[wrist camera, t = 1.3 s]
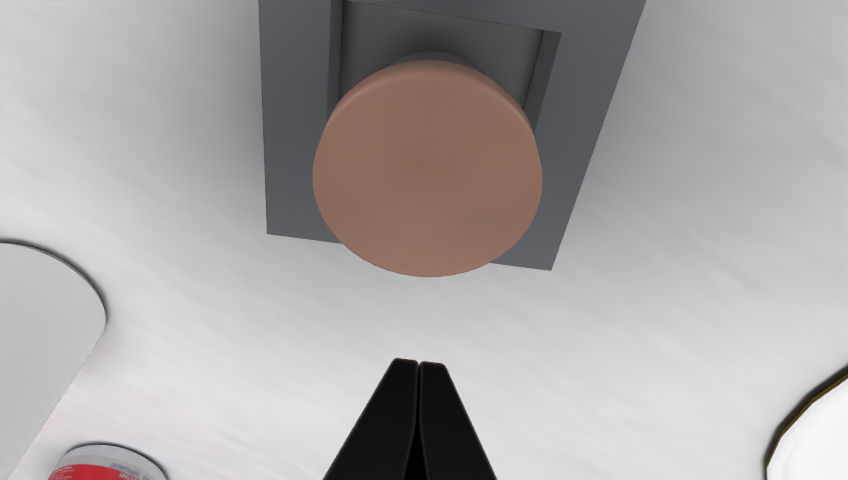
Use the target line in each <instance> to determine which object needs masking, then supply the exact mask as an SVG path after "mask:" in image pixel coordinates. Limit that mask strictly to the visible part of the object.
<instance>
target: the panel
mask: <svg viewBox="0 0 848 480" xmlns="http://www.w3.org/2000/svg"><path fill="white" fill-rule="evenodd" d="M348 1H355V2H362V3H368V4H375V5H381V6H388V7H395V8H401V9H408V10H415V11H421V12H428V13H434V14H441V15H448V16H454V17H461V18H467V19H474V20H481V21H487V22H494V23H500V24H507V25H514V26H520V27H527V28H534V29H540V30H544V32H543V36H542V40H541V44H540V48H539V52H538V56H537V60H536V63H535V67H534V71H533V75H532V79H531V83H530V87H529V91H528V95H527V98H526V102H525V106H524V110H523V111H524V113H525V115H526V116H527V118H528V120H529V123H530V125H531V128H532V130H533V134H534V138H535V142H536V146H537V150H538V154H539V158H540V162H541V166H542V178H543V182H542V194H541V198H540V203H539V206H538V209H537V211H536V214H535V217H534V219H533V220H532V222H531V224H530V226H529V227H528V229H527V230H526V232H525V233H524V234H523V235H522V237H521V238H520V239H519V240H518V241H517V242H516V243H515V244H514V245H513V246H512V247H511V248H510V249H509V250H507V251H506V252H505V253H504V254H502V255H501V256H500V257H498V258H496V259H495V260H493V261H491V262H490V263H495V264H503V265H511V266H519V267H526V268H534V269H542V270H549V271H551V269H552V267H553V264H554V261H555V258H556V255H557V252H558V249H559V247H560V244H561V241H562V238H563V235H564V232H565V230H566V227H567V224H568V221H569V218H570V215H571V212H572V210H573V207H574V204H575V201H576V198H577V195H578V193H579V190H580V187H581V184H582V181H583V178H584V176H585V173H586V170H587V167H588V164H589V161H590V158H591V156H592V153H593V150H594V147H595V144H596V141H597V139H598V136H599V133H600V130H601V127H602V124H603V121H604V119H605V116H606V113H607V110H608V107H609V104H610V102H611V99H612V96H613V93H614V90H615V87H616V84H617V82H618V79H619V76H620V73H621V70H622V67H623V65H624V62H625V59H626V56H627V53H628V50H629V48H630V45H631V42H632V39H633V36H634V33H635V30H636V28H637V25H638V22H639V19H640V16H641V13H642V11H643V8H644V5H645V2H646V0H348ZM342 15H343V0H259V26H260V53H261V81H262V108H263V136H264V163H265V191H266V218H267V234H272V235H280V236H287V237H295V238H303V239H310V240H318V241H326V242H334V243H341V244H343V243H342V242H341V241H340V240H339V239H338V238H337V237H336V236H335V235H334V234H333V232H332V231H331V230H330V228H329V227H328V225H327V224H326V222H325V220H324V219H323V217H322V215H321V213H320V211H319V208H318V205H317V202H316V199H315V194H314V190H313V177H312V173H313V163H314V158H315V154H316V151H317V147H318V145H319V142H320V140H321V137H322V135H323V132H324V129H325V127H326V124H327V122H328V120H329V118H330V115H331V113H332V112H333V110H334V108H335V107H336V105H337V104H338V98H339V77H340V56H341V36H342Z"/></svg>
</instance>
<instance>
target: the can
mask: <svg viewBox="0 0 848 480" xmlns="http://www.w3.org/2000/svg"><path fill="white" fill-rule="evenodd" d="M105 325H106V315H105V310H104V307H103V304H102V301H101V298H100V296H99V294H98V292H97V291H96V289H95V288H94V286H93V285H92V284H91V282H90V281H89V280H88V279H87V278H86V277H85V276H84V275H83V274H82V273H81V272H79V271H78V270H77V269H76V268H74V267H73V266H72V265H70V264H69V263H67V262H66V261H64V260H62V259H60V258H59V257H57V256H55V255H53V254H51V253H48V252H46V251H43V250H40V249H38V248H34V247H31V246H27V245H22V244H15V243H0V480H8V478H9V477H10V475H11V474H12V472H13V471H14V469H15V468H16V466H17V465H18V463H19V462H20V460H21V458H22V457H23V455H24V454H25V452H26V451H27V449H28V448H29V446H30V445H31V443H32V442H33V440H34V439H35V437H36V436H37V434H38V433H39V431H40V430H41V428H42V427H43V425H44V424H45V422H46V420H47V419H48V417H49V416H50V414H51V413H52V411H53V410H54V408H55V407H56V405H57V404H58V402H59V401H60V399H61V398H62V396H63V395H64V393H65V392H66V390H67V388H68V387H69V385H70V384H71V382H72V381H73V379H74V378H75V376H76V375H77V373H78V372H79V370H80V369H81V367H82V365H83V364H84V362H85V361H86V359H87V358H88V356H89V355H90V353H91V352H92V350H93V348H94V347H95V345H96V344H97V342H98V340H99V339H100V337H101V335H102V333H103V331H104V329H105Z"/></svg>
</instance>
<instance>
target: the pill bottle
mask: <svg viewBox="0 0 848 480" xmlns="http://www.w3.org/2000/svg"><path fill="white" fill-rule="evenodd" d="M48 480H166V478H165V476H164V474H163V473H162V472H161V470H160V469H159V468H158V467H157V466H156V465H155V464H153V463H152V462H151V461H149V460H148V459H146V458H144V457H143V456H141V455H139V454H137V453H135V452H132V451H130V450H127V449H124V448H120V447H116V446H109V445H89V446H83V447H79V448H76V449H74V450H72V451H70V452H68V453H67V454H66V455H64V456H63V457H62V459H61V460H60V461H59V463H58V464H57V466H56V467H55V469H54V471H53V472H52V474H51V476H50V477H49V478H48Z"/></svg>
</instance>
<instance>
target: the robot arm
mask: <svg viewBox="0 0 848 480" xmlns="http://www.w3.org/2000/svg"><path fill="white" fill-rule="evenodd" d="M323 480H497V478H496V476H495V473H494V471H493V469H492V467H491V465H490V462H489V460H488V458H487V456H486V454H485V451H484V449H483V447H482V445H481V443H480V440H479V438H478V436H477V434H476V432H475V429H474V427H473V425H472V423H471V421H470V418H469V416H468V414H467V412H466V410H465V407H464V405H463V403H462V401H461V399H460V396H459V394H458V392H457V390H456V388H455V385H454V383H453V381H452V379H451V377H450V374H449V372H448V370H447V368H446V367H445V365H443V364H441V363H434V362H426V361H423V362H421V363H420V364H418V362H417V361H415V360H409V359H401V358H396V359H394V360H393V361H392V362H391V364H390V366H389V367H388V369H387V371H386V372H385V374H384V376H383V378H382V379H381V381H380V383H379V384H378V386H377V388H376V389H375V391H374V393H373V395H372V396H371V398H370V400H369V401H368V403H367V405H366V407H365V408H364V410H363V412H362V413H361V415H360V417H359V418H358V420H357V422H356V424H355V425H354V427H353V429H352V430H351V432H350V434H349V435H348V437H347V439H346V441H345V442H344V444H343V446H342V447H341V449H340V451H339V453H338V454H337V456H336V458H335V459H334V461H333V463H332V464H331V466H330V468H329V470H328V471H327V473H326V475H325V476H324V478H323Z"/></svg>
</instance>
